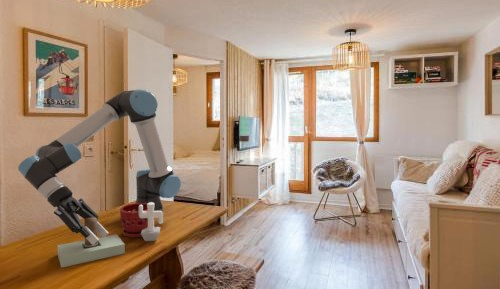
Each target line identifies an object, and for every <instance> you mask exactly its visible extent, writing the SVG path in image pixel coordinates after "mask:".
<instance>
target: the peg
mask: <svg viewBox="0 0 500 289" xmlns="http://www.w3.org/2000/svg"><path fill="white" fill-rule="evenodd" d="M83 221H84V224H83V225H84V227H85V226H87V227H88V228H89V229H90V230H91V231H92V232H93V233H94V235H95V236H96V237H97V238H98V233H97V221H98V219H97V218H96V217H95V216H94V217H90V218H86V219H84V218H83ZM84 240H85V244H84V246H85V248H86V249H87V248H92V247H96V246H97V245H98V242H96V243H95V244H94V245H92V244H91V243H90V242H89V241H88V240H87V239H86V238H85V237H84Z"/></svg>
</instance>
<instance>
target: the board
mask: <svg viewBox="0 0 500 289" xmlns="http://www.w3.org/2000/svg"><path fill="white" fill-rule="evenodd" d="M97 238H98V239H99V240H98V241H97V242H98V245H97V246H96V247H92V248H87V249H86V248H85V246H84V244H85V239H84V240H77V241H73V242H69V243H68V242H67V243H62V244H57V256H58V257H57V258H58V261H59V264H60V268H66V267H70V266H75V265H79V264H83V263H89V262H93V261H97V260H101V259H106V258H111V257H114V256H119V255H123V254H126V247H125V246H126V244H125V243H124V241H123V240H122V239H121V237H119V236H118V234H117V233H115V234H110V235H106V236H105V237H104V238H102V237H101V236H100V237H97Z"/></svg>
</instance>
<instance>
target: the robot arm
mask: <svg viewBox="0 0 500 289" xmlns="http://www.w3.org/2000/svg"><path fill="white" fill-rule="evenodd" d="M157 109H158V101H157V98H156V96H155V95H154V94H153V92H151V91H149V90H147V89H134V90H133V89H132V90H123V91H121V92H119V93H117V94H116V95H114V96H113V97H111V98H110V99H108V100H107V101H105V102H104V103H103V104H102V105H101V108H100V109H98V110H96V111H95V112H94V113H92V114H91V115H90V116H87V117H86V118H85V119H84V120H82V121H81V122H79V123H78V124H76V125H75V126H74V127H72V128H70V129H69V130H68V131H66V132H64V133H63V134H61V135H60V136H59V137H57V138H56V139H54V140H53V141H51V142H50V143H48V144H45V145H41V146H39V147H38V148H37V149H36V151H35V155H31V156H28V157H26V158H25V159H23V160H22V161H21V162H20V163H19V164H18V167H17V170H18V171H19V173H20V174H21V175H22V176H23V177H24V179H25V180H27V182H28V183H29V184H30V185H32V187H33V188H34V189H36V190H37V191H38V193H39V194H40V195H42V196H43V197H44V199H46V200H47V202H48V203H49V204H50V205H51V206H52V208H53V207H54V208H55V210H54V211H53V214H54V215H56V217H58V218H59V219H60V220H61V222H63V223H64V224H65V225H66V227H67V228H68V229H69V230H70V231H71V232H72V233H75V234H79V233H80V235H81V236H83V238H84V239H85V238H86V239H87V240H88V241H89V242H90V243H91V244H92V245H94V244H95V243H96V242H97V241H98V240H99V239H98V238H99V237H98V236H97V237H96V236H95V235H94V233H93V232H92V231H91V230H90V229H89V228H88V227H87V226H85V225H84V224H83V223H82V221H81V219H80V218H82V219H83V220H84V219H86V218H90V217H96V218H97V235H99V236H100V237H102V238H104V237H105V236H108V234H109V231H108V230H106V228H105V227H104V226H103V225H102V224H101V223H100V222H99V221H98V219H99V218H100V217H99V215H98V214H97V213H96V212H95V211H94V210H93V209H92V208H91V207H90V206H89V205H88V204H87V203H86V202H85V201H84V199H83V198H79V199H76V198H75V197H73V192H72V190H71V189H70V188H69V187H68V186H65V185H66V184H65V183H64V182H63V181H62V180H61V179H60V178H59V177H58V176H57V174H59V173H60V172H62V171H64V170H65V169H67V168H69V167H70V166H72V165H74V164H76V163H77V162H78V161H79V160H81V159H82V158H83V157H82V152H81V150H80V149H79V147H80V146H81V145H83V144H84V143H86V142H87V141H88V140H89V139H91V138H92V137H94V135H96V134H98V133H99V132H100V131H102V130H103V129H104V128H106V127H107V126H109V125H110V124H111V123H112V122H118V121H119V120H121V119H122V118H125V117H129V121H130V123H131V124H133V125H135V128H136V131H137V134H138V137H139V140H140V143H141V146H142V148H143V152H144V155H145V158H146V161H147V164H148V168H147V169H139V170H137V172H136V177H135V179H136V200H135V202H134V203H147V204H148V203H149V202H153V203H154V211H162V212H163V213H164V206H163V203H162V200H161V198H163V199H172V198H173V197H175V196H176V195H177V194H178V193H179V192H180V190H181V185H182V184H181V183H182V182H181V179H180V177H179V176H178V175H176V174H174V170H173V167H171V166H169V164H168V162H167V158H166V155H165V152H164V148H163V145H162V142H161V139H160V135H159V132H158V129H157V126H156V123H155V122H156V121H155V119H156V117H157V114H156V112H157ZM143 211H144V209H143ZM133 212H136V209H134V210H133ZM79 217H80V218H79Z"/></svg>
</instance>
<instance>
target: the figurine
mask: <svg viewBox="0 0 500 289" xmlns="http://www.w3.org/2000/svg"><path fill="white" fill-rule="evenodd" d="M147 208H148V211H143V205H139V217H140V218H148V228H145V229H142V232H141V235H142V238H143V240H144V241H145V242H153V241H154V242H155V241H157V240H158V238H159V235H160V232H161V226H155V218H156V219H157V218H158V224H160V225H162V224H163V223H164V211H163V212H162V211H154V203H153V202H149V203H148V204H147Z"/></svg>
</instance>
